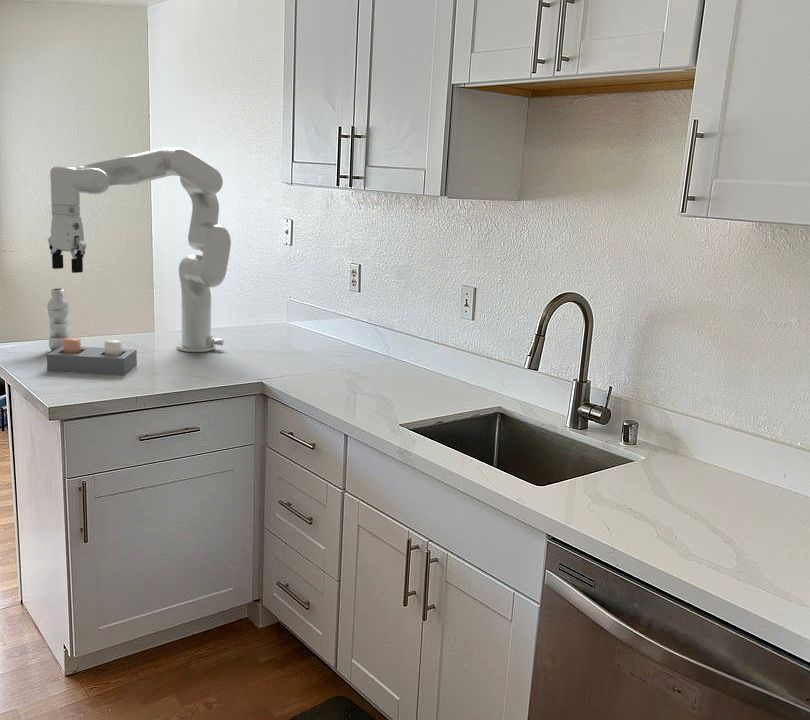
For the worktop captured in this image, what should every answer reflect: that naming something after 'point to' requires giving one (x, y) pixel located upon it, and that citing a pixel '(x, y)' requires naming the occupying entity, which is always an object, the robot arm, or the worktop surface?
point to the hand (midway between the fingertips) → (67, 270)
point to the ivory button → (113, 347)
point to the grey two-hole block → (92, 361)
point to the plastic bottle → (58, 318)
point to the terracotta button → (72, 345)
